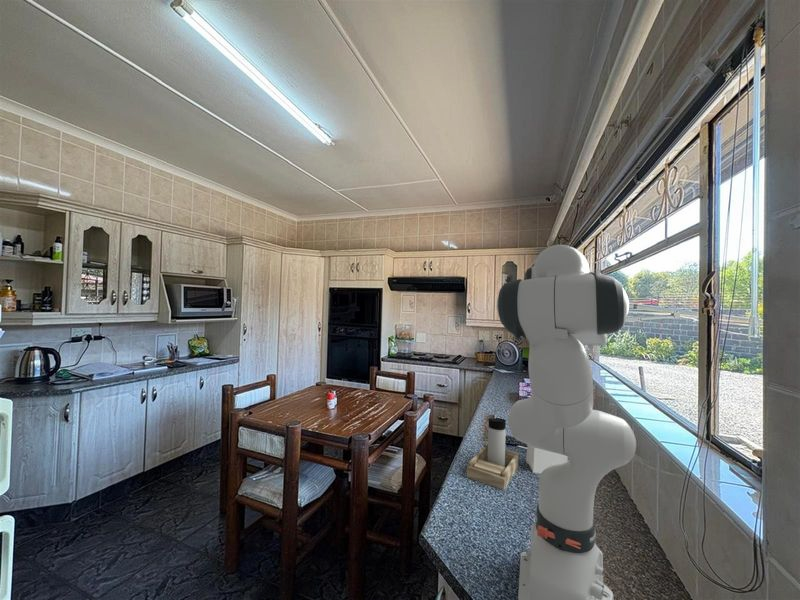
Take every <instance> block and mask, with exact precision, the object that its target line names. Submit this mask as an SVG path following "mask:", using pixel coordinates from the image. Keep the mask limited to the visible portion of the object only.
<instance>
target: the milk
mask: <svg viewBox="0 0 800 600" xmlns="http://www.w3.org/2000/svg"><path fill="white" fill-rule="evenodd" d="M526 446H527V447H526V458H525V459H526V460H525V462H526V464H528V466H529V467H530V469H531V471H532V473H534V474H541V473H542V471H543V470H545V469H546V468H548V467H550V466H552V465H557V464H562V463H565V462H567V461H569V457H567V456H565V455H562V454H558V453H554V452H550V451H546V450H542V449H538V448H534V447H532V446H529V445H527V444H526Z"/></svg>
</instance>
